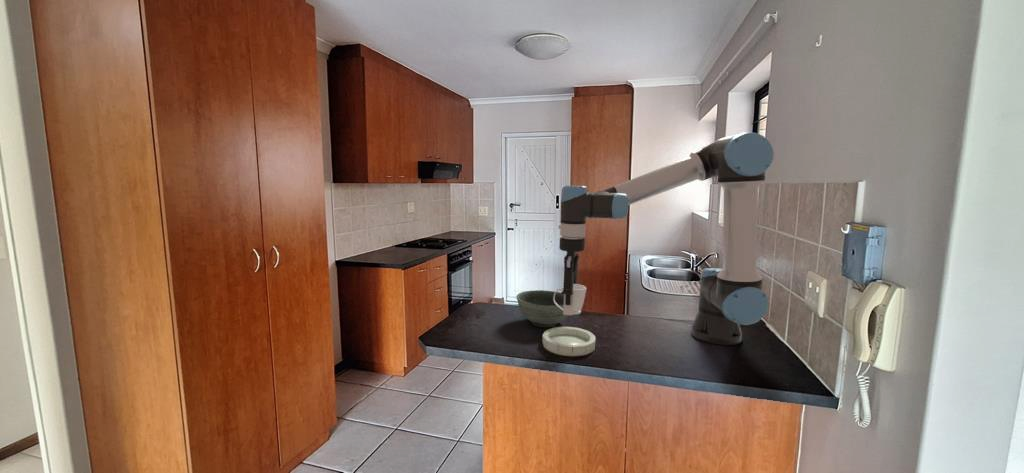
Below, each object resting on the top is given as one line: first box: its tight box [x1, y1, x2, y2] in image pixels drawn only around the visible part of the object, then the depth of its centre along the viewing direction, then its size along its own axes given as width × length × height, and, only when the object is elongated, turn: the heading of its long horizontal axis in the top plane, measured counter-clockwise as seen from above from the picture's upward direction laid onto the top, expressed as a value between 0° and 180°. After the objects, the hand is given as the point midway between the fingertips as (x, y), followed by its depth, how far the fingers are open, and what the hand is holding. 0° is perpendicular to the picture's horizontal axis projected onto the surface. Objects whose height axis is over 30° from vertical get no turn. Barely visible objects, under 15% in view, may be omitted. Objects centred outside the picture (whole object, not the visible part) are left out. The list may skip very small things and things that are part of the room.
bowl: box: [515, 289, 569, 328], centre depth 146 cm, size 21×21×10 cm
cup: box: [553, 283, 587, 315], centre depth 125 cm, size 7×10×8 cm
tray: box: [542, 326, 597, 357], centre depth 127 cm, size 16×16×3 cm
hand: (569, 310), depth 126 cm, fingers closed on cup, 7 cm apart
